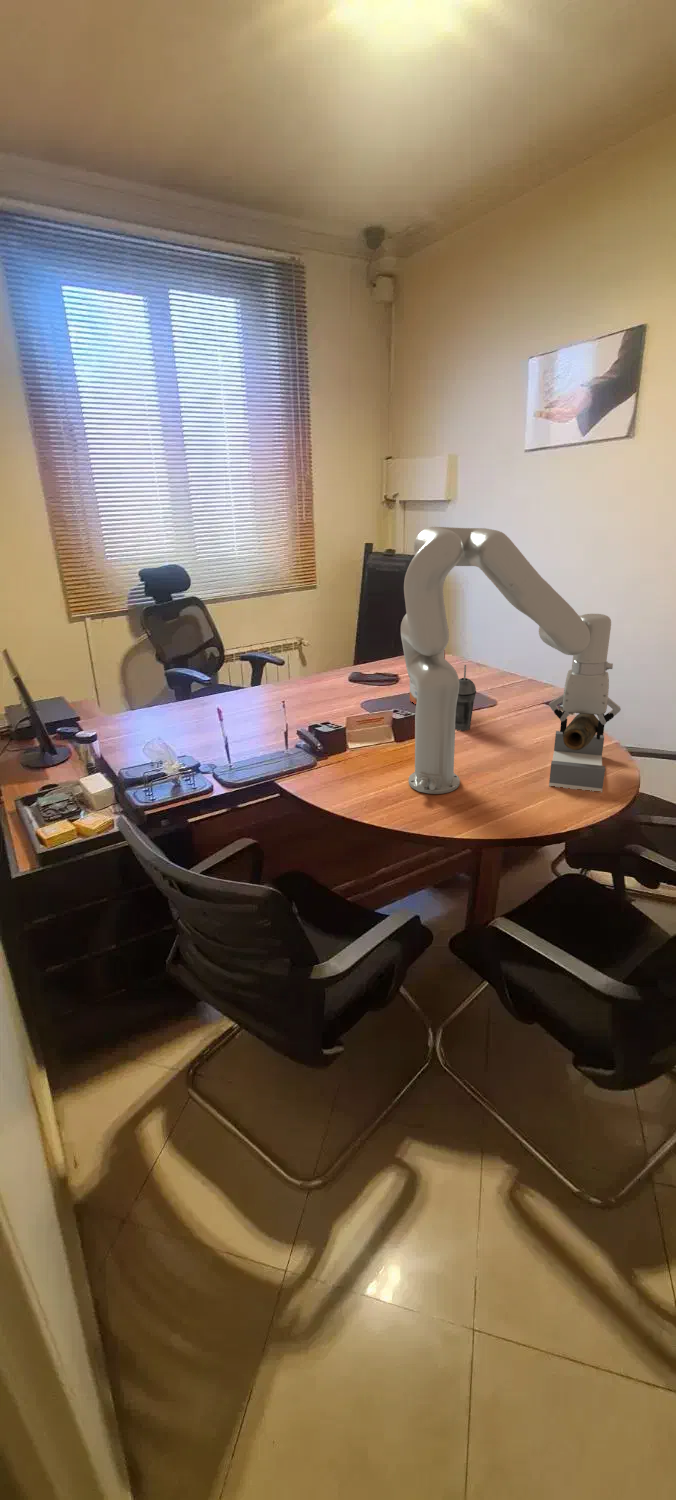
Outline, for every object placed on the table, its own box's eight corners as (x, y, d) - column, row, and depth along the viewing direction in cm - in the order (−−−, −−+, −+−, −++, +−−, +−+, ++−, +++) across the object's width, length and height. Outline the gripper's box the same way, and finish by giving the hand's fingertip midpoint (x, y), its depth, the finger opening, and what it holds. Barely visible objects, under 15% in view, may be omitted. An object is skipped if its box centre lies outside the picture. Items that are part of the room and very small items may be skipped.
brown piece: (591, 755, 149) (594, 729, 147) (560, 751, 152) (563, 725, 150) (599, 733, 161) (602, 709, 159) (571, 730, 165) (573, 705, 162)
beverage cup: (473, 723, 193) (476, 660, 185) (475, 732, 186) (479, 667, 178) (449, 723, 193) (451, 660, 185) (451, 732, 187) (453, 667, 179)
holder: (602, 792, 148) (605, 769, 146) (548, 786, 152) (551, 763, 150) (601, 756, 167) (604, 735, 165) (554, 751, 171) (556, 730, 169)
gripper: (628, 664, 149) (618, 733, 156) (551, 661, 155) (545, 727, 162) (629, 673, 143) (619, 745, 150) (549, 669, 149) (543, 738, 156)
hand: (581, 735), depth 156 cm, fingers closed on brown piece, 7 cm apart
